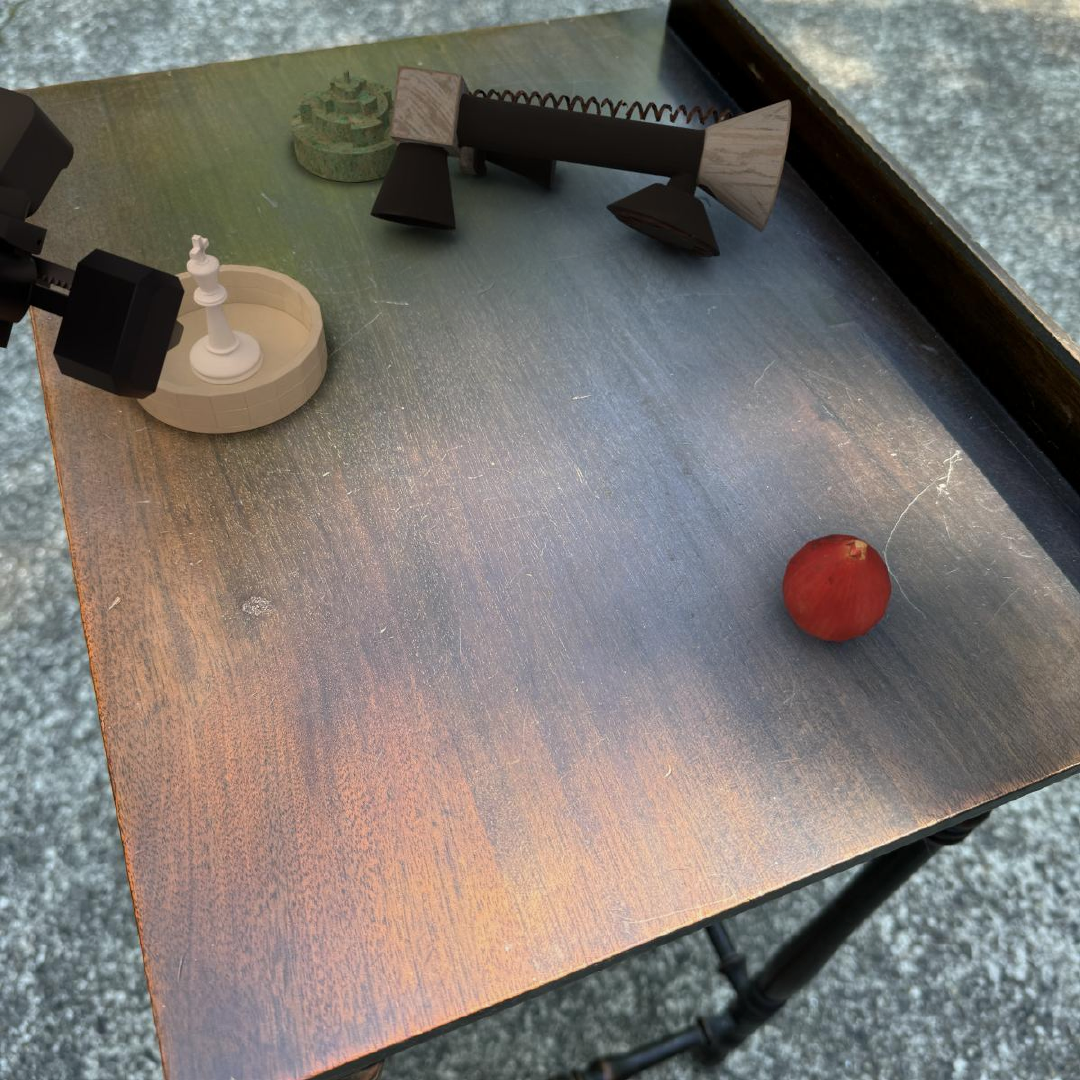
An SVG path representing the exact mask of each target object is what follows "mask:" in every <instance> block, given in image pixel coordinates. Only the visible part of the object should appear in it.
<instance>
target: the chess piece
mask: <svg viewBox="0 0 1080 1080" xmlns="http://www.w3.org/2000/svg"><path fill="white" fill-rule="evenodd" d="M190 240H191V243H192V248H191V250H190V251H189V253H188V255H189V260H188V261H187V263H186V269H187V271H188V272H189V273H190V275H191V276H192V277H193V278H194V280H195V281H196V283H197V285H198V286H199V287H198V288H197V289H196V290H195V292H194V300H195V302H196V303H197V304H199V305H201V306H205V308H206V314H207V324H208V335H206V336H204V337H203V338H201V339H200V340H198V341H197V342H196V343H195V344H194V346H193V347H192V349H191V351H190V356H189V359H190V367H191V370H192V372H193V373H194V375H195V376H196V377H198V378H199V379H201V380H203V381H205V382H208V383H212V384H219V385H225V384H233V383H237V382H240V381H243V380H245V379H247V378H249V377H251V376H252V375H254V374H255V373H256V372H257V371H258V370H259V368H260V367H261V365H262V362H263V352H262V350H261V348H260V345H259V343H258V342H257V340H256V339H255V338H253V337H252V336H250V335H249V334H246V333H244V332H240V331H234V330H231V328H230V326H229V323H228V321H227V318H226V316H225V313H224V311H223V308H222V305H221V303H223V302H224V301H225V300H226V299H227V296H228V293H227V291H226V289H225V288H224V287H223V286H222V285H220V284H217V282H218V273H219V268H220V261H219V259H218V258H217V257H216V256H214V255H212V254H206V250H207V249H208V247H209V246H210V243H209V239H208V238H207V237H202V235H198V234H193V236H192V237H191V238H190Z"/></svg>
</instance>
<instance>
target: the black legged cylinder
mask: <svg viewBox="0 0 1080 1080" xmlns="http://www.w3.org/2000/svg"><path fill="white" fill-rule="evenodd" d="M395 84H396V85H395V92H394V100H393V101H394V108H393V116H392V124H391V132H390V137H391V138H392V139H394V141H395V142H396V145H397V149H396V152H395V155H394V157H393V160H392V162H391V164H390V167H389V169H388V171H387V174H386V176H385V177H384V179H383V181H382V184H381V186H380V188H379V191H378V194H377V195H376V198H375V200H374V203H373V205H372V208H371V211H370V216H372V217H374V218H376V219H380V220H383V221H386V222H391V223H395V224H400V225H403V226H410V227H416V228H422V229H427V230H429V229H430V230H437V231H456V230H457V223H456V214H455V208H454V199H453V193H452V183H451V175H450V169H449V162H448V161H449V160H448V157H449V158H456V159H458V168H459V169H460V171H461V172H462V173H463V174H466V175H467V174H468V175H473V176H474V175H475V176H477V175H478V177H485V176H486V175H487V174H488V167H487V164H486V162H488V163H491V164H493V165H494V166H497V167H500V168H502V169H505V170H507V171H509V172H511V173H514V174H516V175H518V176H521V177H523V178H524V179H527V180H529V181H532V182H534V183H537V184H539V185H541V186H544V187H547V188H548V189H551V190H552V188H553V184H554V179H555V174H556V169H557V168H556V167H557V163H558V162H565V163H569V164H577V165H583V166H591V167H598V168H604V169H610V170H617V171H624V172H628V173H636V174H637V173H638V174H642V175H649V176H655V177H656V176H657V177H663V178H669V180H668V182H667V183H666V184H664V183H662V182H654V183H652V184H650V185H647V186H646V187H643V188H642V189H639V190H636V191H635V192H632V193H631V194H629V195H625V196H624V197H622V198H620V199H618V200H616V201H613V202H612V203H610V204H608V205H606V209H607V210H608V212H610V213H611V214H612V215H614V217H615V218H616V219H617V220H618V221H619V222H620V223H622V224H623V225H625V226H626V227H628V228H630V229H631V230H634V231H635V232H638V233H640V234H641V235H643V236H646V237H648V238H650V239H653V240H654V241H657V242H658V243H659V242H660V243H661V244H663V245H666V246H668V247H671V248H674V249H676V250H680V251H682V252H686V253H688V254H690V255H691V254H692V255H694V256H699V257H703V258H712V257H720V256H721V251H720V248H719V246H718V242H717V239H716V236H715V234H714V233H715V232H714V230H713V227H712V224H711V221H710V219H709V216H708V213H707V210H706V207H705V205H704V202H703V201H701V199H700V198H697V197H696V196H695V195H696V191H697V189H698V188H699V189H700V190H701V191H703V192H704V193H706V194H707V195H708V196H710V197H711V198H712V199H714V200H715V201H716V202H718V203H719V204H721V205H722V206H723V207H725V208H726V209H728V211H730V212H732V214H734V215H735V216H736V217H738V218H740V219H741V220H742V221H744V222H745V223H747V224H748V225H749V226H751V227H752V228H753V229H755V230H756V231H758V232H759V233H763V231H764V230H765V228H766V227H767V225H768V222H769V220H770V217H771V214H772V211H773V208H774V204H775V202H776V198H777V194H778V191H779V186H780V182H781V178H782V174H783V169H784V165H785V160H786V154H787V149H788V144H789V143H788V142H789V136H790V129H791V122H792V121H791V119H792V103H791V100H790V99H786V100H782V101H779V102H776V103H774V104H770V105H767V106H765V107H761V108H759V109H756V110H753V111H750V112H748V113H747V112H746V111H740V112H739V113H737V115H736V116H735V117H734V114H733V112H732V111H731V110H730V109H728V108H727V109H724V110H723V111H722V112H721V113H720V115H719V114H718V111H717V109H716V108H715V107H714V106H713V107H710V108H709V109H708V110H707V111H706V112H705V115H704V114H703V110H702V107H701V106H699V105H695V106H693V108H692V109H691V110H690V112H689V113H688V111H687V110H688V109H687V107H686V105H684V104H680V105H679V106H678V107H677V108H676V109H675V111H674V113H673V107H672V105H671V104H668V103H663V104H662V105H661V106H660V108H659V110H658V106H657V105H656V103H655V102H654V101H650V102H648V103H647V105H646V107H645V109H644V107H643V106H642V103H641V102H640V101H637V100H635V101H634V102H633V103H632V104H631V105H630V107H629V106H628V104H627V102H626V101H625V100H623V99H620V100H619V101H617V104H616V105H615V106H614V103H613V101H612V99H610V98H609V97H606V98H604V99H603V100H601V104H600V102H599V101H598V99H597V97H596V96H593V95H591V96H590V97H589V98H588V99H587V100H586V102H585V100H584V98H583V97H582V96H580V95H577V94H576V95H575V96H574V97H573V98H572V99H571V98H570V97H569V96H568V95H565V94H562V95H560V96H559V97H558V100H557V98H556V96H555V94H554V93H552V92H548V93H546V94H545V95H544V96H543V97H542V96H541V95H540V93H539V92H538V91H537V90H534V91H532V92H530V96H529V95H528V94H527V92H526V91H524V90H522V89H521V90H520V89H519V90H518V91H517V92H516V93H515V94H514V93H513V92H512V91H511V90H510V89H504V90H503V92H502V94H501V93H500V91H496V90H495V89H494V88H491V89H489V90H488V92H487V93H486V92H485V91H484V90H482V89H480V88H477V89H475V90H474V91H473V93H472V91H470V90H469V87H468V84H467V83H466V81H465V79H464V77H463V75H462V74H460V73H454V72H446V71H439V70H434V69H433V70H432V69H426V68H420V67H413V66H408V65H398V67H397V75H396V83H395ZM479 94H481V95H482V96H478V95H479ZM493 95H495V96H496V97H497V99H496V98H492V96H493ZM507 95H508V96H509V97H510V100H511V101H510V100H505V99H506V96H507ZM521 96H522V97H523V99H524V102H525V103H523V102H518V101H519V99H520V98H521ZM535 97H536V98H537V101H538V103H539V105H537V104H532V101H533V98H535ZM549 99H551V103H552V106H553V107H549V106H546V104H547V102H548V100H549ZM564 99H565V103H566V108H567V109H562V108H559V106H561V104H562V102H563V100H564ZM577 102H579V103H580V107H581V111H576V110H574V109H575V106H576V103H577ZM591 103H593V104H594V105H595V108H596V113H589V112H588V111H589V108H590V106H591ZM606 105H608V107H609V113H610V115H603V114H602V109H603V108H604V107H605V106H606ZM621 106H622V107H626V108H627V109H628V110H627V111H626V113H625V116H626V117H624V118H623V117H618V116H617V114H618V113H619V112H618V111H619V110H620V108H621ZM636 107H637V109H638V114H639V120H637V119H631V118H632V115H633V113H634V110H635V109H636ZM651 109H652V111H653V114H654V119H655V122H650V121H646V120H647V116H648V113H649V112H650V110H651ZM665 110H668V111H669V112H670V113H669V123H672V124H675V122H676V120H677V118H678V116H679V114H680V112H681V111H682V113H683V116H684V117H686V122H685V123H686V125H689V124H690V122H691V121H692V118H693V116H694V115H695V114H696V112H697V115H698V120H699V124H701V125H702V126H705V124H706V120H708V118H710V116H711V115H713V120H714V124H712V125H709V126H707V127H706V128H703V129H698V128H690V127H682V126H677V125H669V124H664V123H659V122H661V120H662V117H663V114H664V111H665ZM616 116H617V117H616ZM726 116H728V119H726V120H724V119H725V117H726ZM642 120H643V121H642Z"/></svg>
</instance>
